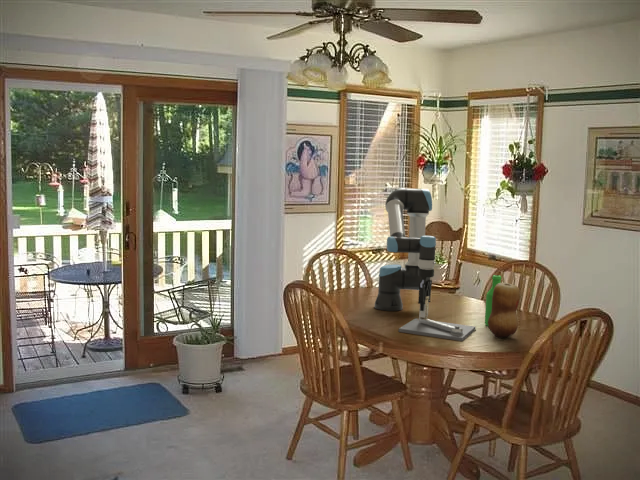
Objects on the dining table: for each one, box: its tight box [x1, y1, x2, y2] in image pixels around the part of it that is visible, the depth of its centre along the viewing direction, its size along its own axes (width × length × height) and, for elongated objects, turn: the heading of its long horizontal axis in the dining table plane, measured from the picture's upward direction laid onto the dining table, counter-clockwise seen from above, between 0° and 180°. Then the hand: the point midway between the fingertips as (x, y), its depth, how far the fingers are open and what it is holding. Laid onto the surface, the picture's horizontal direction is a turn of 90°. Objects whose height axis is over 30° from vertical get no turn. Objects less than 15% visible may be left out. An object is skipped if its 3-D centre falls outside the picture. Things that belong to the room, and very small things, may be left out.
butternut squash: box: [487, 282, 521, 339], centre depth 313 cm, size 14×13×25 cm
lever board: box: [398, 318, 476, 342], centre depth 322 cm, size 30×24×2 cm
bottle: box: [484, 274, 502, 327], centre depth 334 cm, size 9×9×25 cm
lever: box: [418, 296, 463, 334], centre depth 319 cm, size 27×5×13 cm, turn 35°
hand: (423, 316), depth 328 cm, fingers closed on lever, 4 cm apart
